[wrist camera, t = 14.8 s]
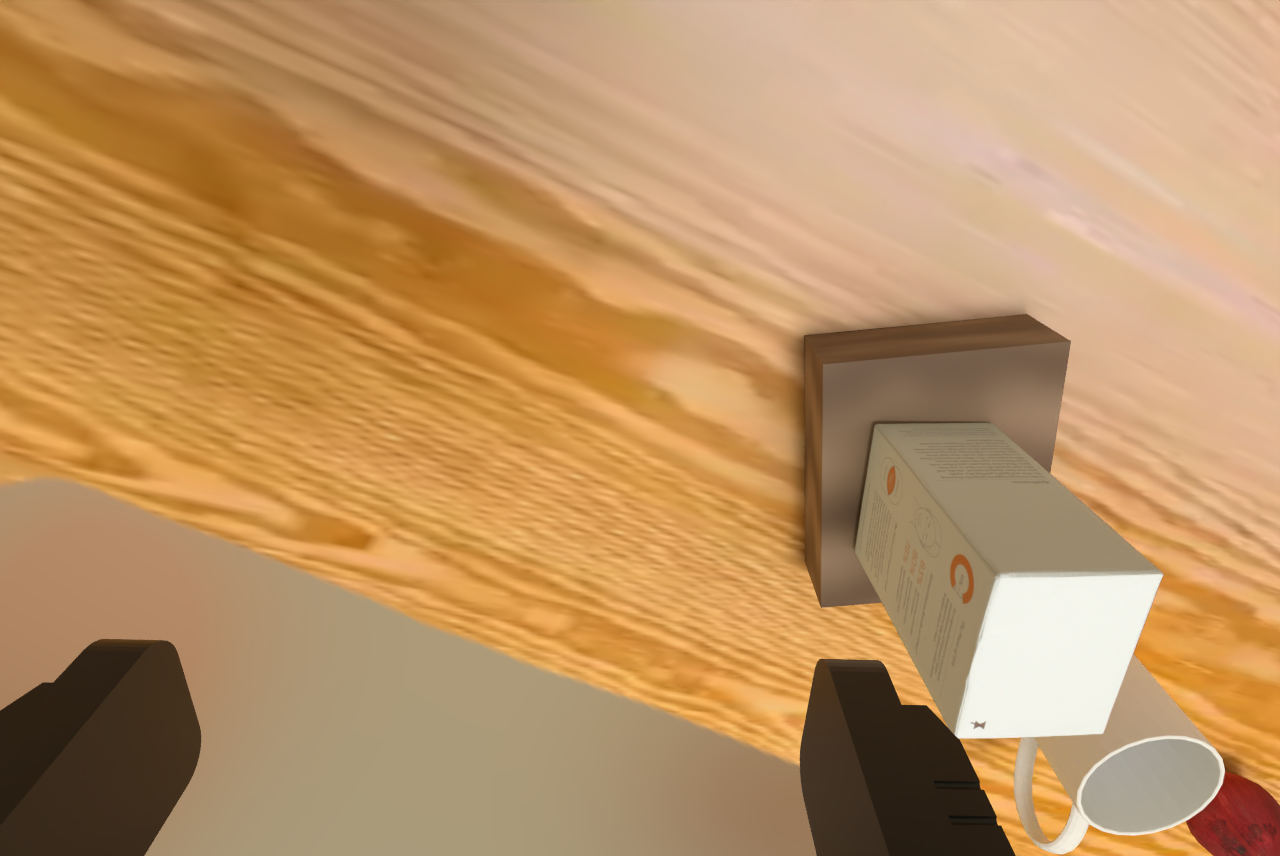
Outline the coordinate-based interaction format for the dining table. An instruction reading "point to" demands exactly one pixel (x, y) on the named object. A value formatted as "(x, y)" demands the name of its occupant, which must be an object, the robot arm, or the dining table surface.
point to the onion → (1239, 820)
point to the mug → (1125, 768)
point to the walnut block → (913, 415)
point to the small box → (999, 581)
